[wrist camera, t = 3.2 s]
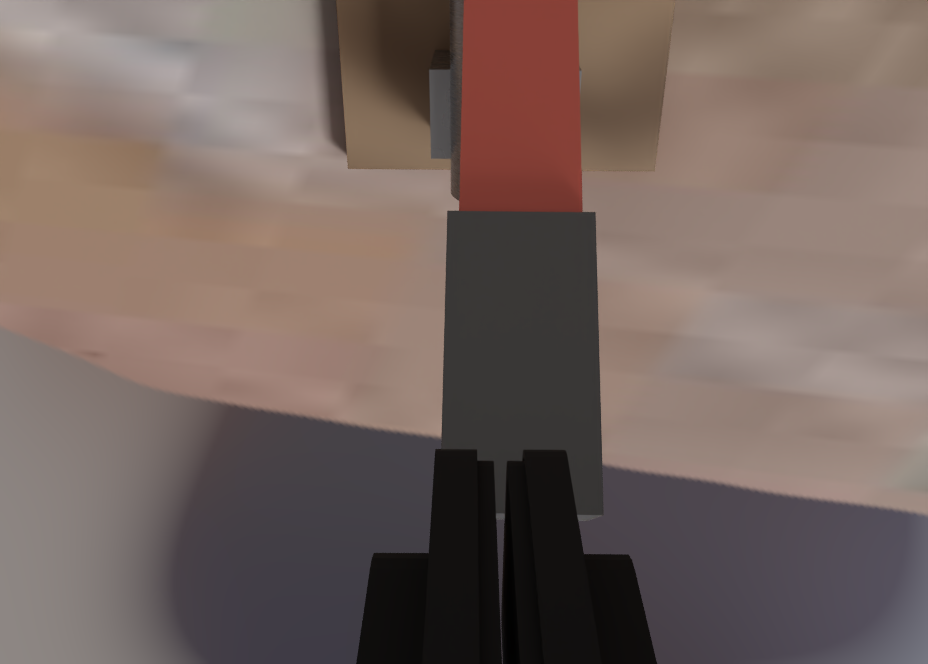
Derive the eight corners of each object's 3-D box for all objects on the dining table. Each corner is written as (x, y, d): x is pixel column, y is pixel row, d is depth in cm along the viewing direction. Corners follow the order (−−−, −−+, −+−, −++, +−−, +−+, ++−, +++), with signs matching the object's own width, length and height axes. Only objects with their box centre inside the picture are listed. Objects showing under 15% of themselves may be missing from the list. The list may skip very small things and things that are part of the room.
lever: (461, -171, 19) (459, -261, 17) (572, -170, 19) (583, -261, 17) (444, 518, 15) (439, 512, 13) (586, 520, 15) (604, 515, 13)
